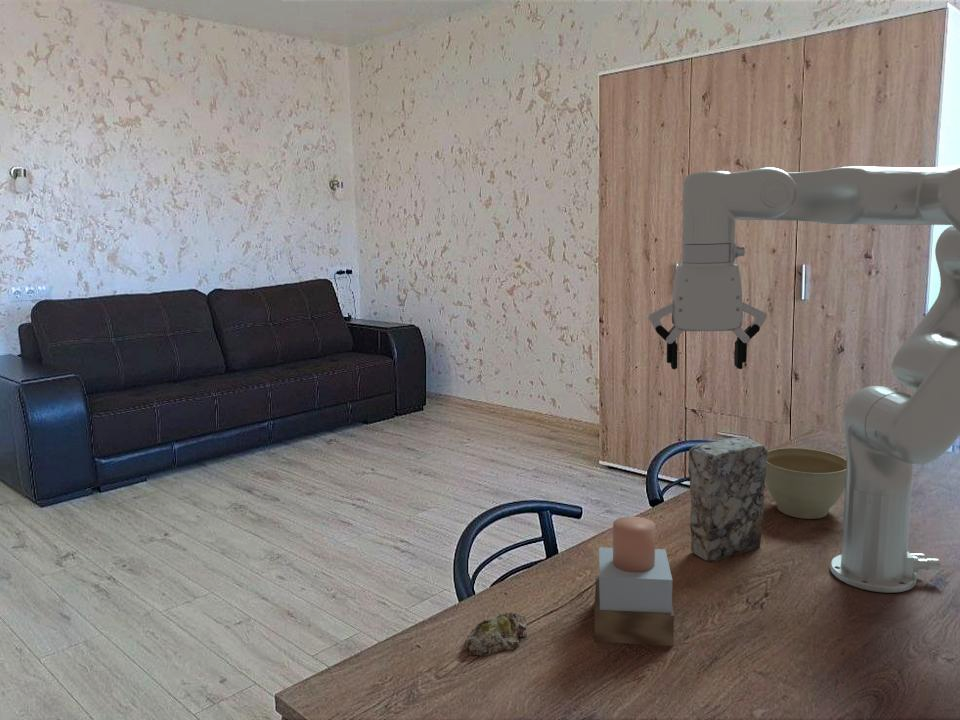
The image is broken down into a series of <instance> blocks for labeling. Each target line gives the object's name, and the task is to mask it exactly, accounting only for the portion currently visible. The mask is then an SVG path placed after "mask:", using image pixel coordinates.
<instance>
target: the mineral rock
mask: <svg viewBox="0 0 960 720" xmlns="http://www.w3.org/2000/svg"><path fill="white" fill-rule="evenodd" d="M527 627H528V626H527V618H526V616H525V615H523V614H521V613H518V614H517V612H515V611H512V612H505V613H503V614H498V615H496V618H495V619H492V618H488V619H485V620H482V621H480V622H479V623H478V624H476V625H475V627H474V629H472V630H471V631H470V632H469V636H467V637H466V639H465V648H464V649H465V650H467V651H469V655H470V656H472V655H473V656H475V655H476V656H480V657H484V656H490V655H493V654H496V653H497V652H500V651H503V650H510V651H513V650H514V649H517V648H519V647H520V646H521V645H522V643H524V642H525V640H526V639H527V634H528V633H527Z"/></svg>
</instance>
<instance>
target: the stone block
mask: <svg viewBox="0 0 960 720" xmlns="http://www.w3.org/2000/svg"><path fill="white" fill-rule="evenodd" d="M768 451H769V449H768V448H767V447H766V446H765V445H763V444H761V443H759V442H757V441H755V440H753V439H751V438H748V437H747V436H738V437H737V436H736V437H730V438H724V439H719V440H714V441H710V442H705V443H704V442H703V443H699V444H697V445H694V446H693V447H691V448H690V449H689V450H688V475H689V492H690V493H689V494H690V504H691V508H690V515H689V516H690V517H689V519H690V525H689V529H690V550H691V552H692V553H693V554H695V556H697V557H699V558H701V559H703V560H704V561H706V562H710V563H714V562H717V561H720V560H724V559H727V558H728V559H729V558H731V557H735V556H737V555H740V554H744V553H746V552H749V551H753V550H756V549H760V547H761V540H762V533H763V520H764V509H765V508H764V507H765V504H764V502H765V489H766V482H765V476H766V459H767V454H768Z"/></svg>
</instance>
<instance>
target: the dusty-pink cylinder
mask: <svg viewBox="0 0 960 720" xmlns="http://www.w3.org/2000/svg"><path fill="white" fill-rule="evenodd" d="M612 548H613V564H614V566H615V567H617V568H618V569H620V570H623V571H627V572H646V571H649V570H651V569H653V568H654V566H655V549H656V524H655V522H653V521H652V520H651V519H648V518H645V517H642V516H641V517H639V516H623V517H619V518H617V519H615V520H614V521H613V523H612Z"/></svg>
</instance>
